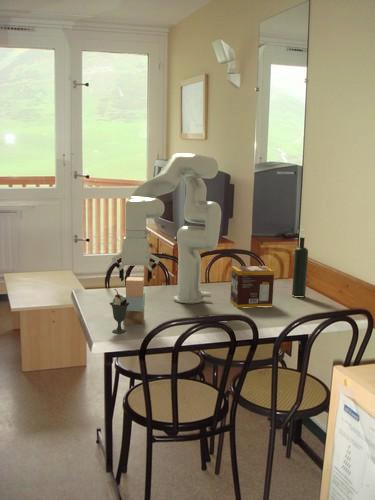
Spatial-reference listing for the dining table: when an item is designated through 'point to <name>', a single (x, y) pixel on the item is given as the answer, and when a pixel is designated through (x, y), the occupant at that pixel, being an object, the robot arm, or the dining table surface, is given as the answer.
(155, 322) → the dining table surface
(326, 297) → the dining table surface
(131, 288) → the cube
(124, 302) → the sundae
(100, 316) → the dining table surface
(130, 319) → the block bottom
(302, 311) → the dining table surface
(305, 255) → the wine bottle
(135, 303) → the block top
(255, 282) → the supplement box
